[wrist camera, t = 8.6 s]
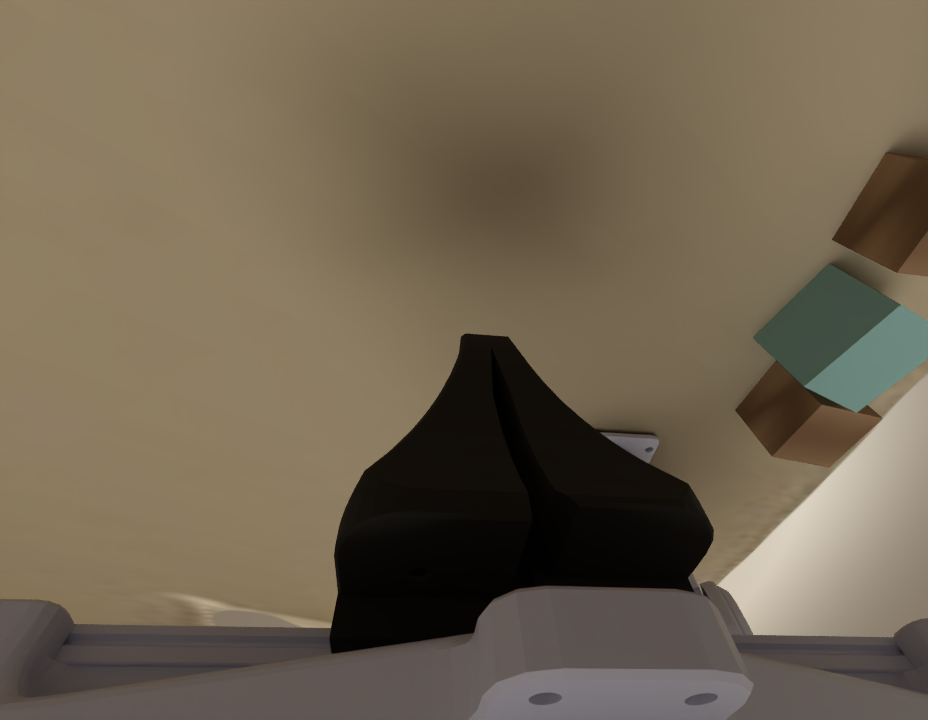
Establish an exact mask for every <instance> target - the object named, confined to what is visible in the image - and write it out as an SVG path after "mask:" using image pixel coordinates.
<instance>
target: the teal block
mask: <svg viewBox="0 0 928 720" xmlns="http://www.w3.org/2000/svg"><path fill="white" fill-rule="evenodd" d="M753 338H754V339H755V340H756V341H757V342H758V343H759V344H760V345H761V346H762V347H763V348H764V349H765V350H766V351H767V352H768V353H769V354H770V355H771V356H772V357H773V358H774V359H776V360H777V361H778V362H779V363H780V364H781V365H782V366H783V367H784V368H785V369H786V370H787V371H788V372H789V373H790V374H791V375H792V376H793V377H794V378H795V379H796V380H797V381H798V382H800V383H801V384H802V385H803V386H804V387H806V388H808V389H810V390H812V391H814V392H816V393H818V394H820V395H822V396H824V397H826V398H828V399H830V400H832V401H834V402H836V403H838V404H840V405H842V406H844V407H846V408H848V409H850V410H852V411H854V412H856V413H857V412H858V411H860V410H861V409H862V408H864V407H865V406H866V405H868V404H869V403H870V402H872V401H873V400H874V399H875V398H877V397H878V396H879V395H881V394H882V393H883V392H885V391H886V390H887V389H889V388H890V387H891V386H893V385H894V384H895V383H897V382H898V381H899V380H901V379H902V378H903V377H905V376H906V375H907V374H909V373H910V372H911V371H913V370H914V369H915V368H916V367H918V366H919V365H920V364H922V363H923V362H924V361H926V360H927V359H928V321H926V320H924V319H923V318H921V317H920V316H918V315H917V314H915V313H913V312H912V311H910V310H909V309H907V308H905V307H904V306H902V305H901V304H899V303H897V302H895V301H894V300H892V299H890V298H888V297H887V296H885V295H883V294H881V293H880V292H878V291H876V290H874V289H873V288H871V287H869V286H867V285H866V284H864V283H862V282H860V281H859V280H857V279H855V278H854V277H852V276H850V275H848V274H847V273H845V272H843V271H841V270H840V269H838V268H836V267H834V266H833V265H831V264H828V265H827V266H826V267H825V268H824V269H823V270H822V271H821V272H820V273H819V274H818V275H817V276H816V277H815V278H814V279H813V280H812V281H811V282H810V283H809V284H808V285H807V286H806V287H805V288H804V289H802V290H801V291H800V292H799V293H798V294H797V295H796V296H795V297H794V298H793V299H792V300H791V301H790V302H789V303H788V304H787V305H786V306H785V307H784V308H783V309H782V310H781V311H780V312H779V313H778V314H777V315H776V316H775V317H774V318H773V319H772V320H771V321H770V322H769V323H768V324H767V325H766V326H765V327H764V328H763V329H762V330H761V331H759V332H758V333H757V334H756V335H755V336H754V337H753Z"/></svg>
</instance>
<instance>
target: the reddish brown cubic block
mask: <svg viewBox="0 0 928 720" xmlns="http://www.w3.org/2000/svg"><path fill="white" fill-rule="evenodd" d="M736 412H737V413H738V414H739V415H740V417H741V418H742V419H743V421H744V422H745V423H746V424H747V426H748V427H749V428H750V429H751V431H752V432H753V433H754V434H755V436H756V437H757V438H758V440H759V441H760V442H761V443H762V445H763V446H764V447H765V448H766V450H767V451H768V452H769V453H770V455H771V456H772V457H777V458H782V459H787V460H793V461H798V462H803V463H808V464H814V465H819V466H824V467H830V466H831V465H832V464H834V463H835V462H836V461H837V460H838V459H839V458H840V457H841V456H842V455H843V454H844V453H846V452H847V451H848V450H849V449H850V448H851V447H852V446H853V445H854V444H855V443H857V442H858V441H859V440H860V439H861V438H862V437H863V436H864V435H865V434H866V433H867V432H869V431H870V430H871V429H872V428H873V427H874V426H875V425H876V424H877V423H878V422H879V421H881V420H882V419H883V418H882V417H881V416H880V415H878V414H877V413H876V412H875V411H874V410H873V409H871V408H870V407H869V406H868V405H866V406H865V407H864V408H862V409H861V410H860V411H858V412H857V413H856V412H854V411H852V410H850V409H848V408H846V407H844V406H842V405H840V404H838V403H836V402H834V401H832V400H830V399H828V398H826V397H824V396H822V395H820V394H818V393H816V392H814V391H812V390H810V389H808V388H806V387H804V386H803V385H802V384H801V383H800V382H798V381H797V380H796V379H795V378H794V377H793V376H792V375H791V374H790V373H789V372H788V371H787V370H786V369H785V368H784V367H783V366H782V365H781V364H780V363H779V362H778V361H776V362H775V363H774V364H773V365H772V367H771V368H770V369H769V370H768V371H767V373H766V374H765V375H764V376H763V377H762V379H761V380H760V381H759V382H758V384H757V385H756V386H755V387H754V388H753V390H752V391H751V392H750V393H749V394H748V396H747V397H746V398H745V399H744V400H743V402H742V403H741V404H740V405H739V406H738V408H737V409H736Z"/></svg>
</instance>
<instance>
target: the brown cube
mask: <svg viewBox="0 0 928 720" xmlns="http://www.w3.org/2000/svg"><path fill="white" fill-rule="evenodd" d="M832 240H833V241H835V242H837V243H839V244H841V245H843V246H845V247H847V248H849V249H851V250H853V251H855V252H857V253H859V254H861V255H863V256H865V257H867V258H869V259H871V260H873V261H875V262H877V263H879V264H881V265H883V266H885V267H887V268H889V269H891V270H893V271H895V272H897V273H903V274H912V275H920V276H928V159H925V158H918V157H911V156H904V155H898V154H891V153H885V155H884V157H883V158H882V160H881V161H880V163H879V165H878V166H877V168H876V169H875V171H874V173H873V174H872V176H871V178H870V179H869V181H868V182H867V184H866V186H865V187H864V189H863V190H862V192H861V194H860V195H859V197H858V198H857V200H856V202H855V203H854V205H853V207H852V208H851V210H850V211H849V213H848V215H847V216H846V218H845V219H844V221H843V223H842V224H841V226H840V228H839V229H838V231H837V232H836V234H835V236H834V237H833V239H832Z"/></svg>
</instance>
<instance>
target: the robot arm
mask: <svg viewBox="0 0 928 720" xmlns="http://www.w3.org/2000/svg"><path fill="white" fill-rule="evenodd" d="M658 445H659V440H658V438H657V437H656V436H654V435H640V434H623V433H605V432H598V431H597V430H596V429H594V428H593V427H592V426H590V425H589V424H588V423H587V422H585V421H584V420H583V419H582V418H580V417H579V416H578V415H577V414H576V413H575V412H574V411H572V410H571V409H570V408H569V407H568V406H567V405H566V404H565V403H564V402H562V401H561V400H560V399H559V398H558V397H557V396H556V395H555V393H554V392H553V391H552V390H551V389H550V388H549V387H548V386H547V385H546V384H545V383H544V382H543V381H542V379H541V378H540V377H539V376H538V375H537V374H536V372H535V371H534V370H533V369H532V367H531V366H530V365H529V364H528V362H527V361H526V360H525V358H524V357H523V356H522V354H521V353H520V352H519V350H518V349H517V348H516V346H515V345H514V344H513V342H512V341H511V340H510V339H509V337H505V336H491V335H478V334H464V335H463V336H461V342H460V350H459V355H458V358H457V360H456V363H455V365H454V367H453V370H452V372H451V374H450V376H449V378H448V380H447V382H446V383H445V385H444V387H443V389H442V391H441V392H440V394H439V395H438V397H437V399H436V400H435V402H434V403H433V404H432V406H431V407H430V409H429V410H428V411H427V412H426V414H425V415H424V416H423V417H422V419H421V420H420V421H419V422H418V423H417V425H416V426H415V427H414V428H413V429H412V430H411V431H410V432H409V433H408V434H407V435H406V436H405V437H404V438H403V439H402V440H401V441H400V442H399V443H398V444H397V445H396V446H395V447H394V448H393V449H392V450H390V451H389V452H388V453H387V454H386V455H384V456H383V457H382V458H381V459H379V460H378V461H377V462H375V463H374V464H373V465H372V466H370V467H369V468H368V469H366V470H365V471H364V473H363V475H362V476H361V478H360V480H359V482H358V484H357V485H356V487H355V489H354V491H353V493H352V495H351V497H350V499H349V501H348V504H347V506H346V508H345V511H344V514H343V516H342V519H341V522H340V526H339V530H338V535H337V540H336V545H335V553H334V559H335V568H336V577H337V587H338V596H337V601H336V606H335V611H334V616H333V621H332V626H331V628H285V627H222V626H221V627H220V626H162V625H100V624H74V622H73V620H72V618H71V616H70V614H69V613H68V611H67V610H66V609H64V608H63V607H62V606H60V605H59V604H56V603H53V602H50V601H44V600H30V599H0V720H928V618H926V619H920V620H917V621H913V622H911V623H909V624H907V625H905V626H904V627H902V628H901V629H900V630H899V631H897V632H896V633H895V634H894V637H836V636H834V637H833V636H831V637H830V636H776V635H774V636H773V635H753V633H752V631H751V629H750V627H749V625H748V623H747V622H746V620H745V618H744V616H743V614H742V612H741V611H740V609H739V607H738V606H737V604H736V602H735V600H734V599H733V597H732V596H731V595H730V593H729V592H727V591H726V590H724V589H722V588H721V587H719V586H716V585H715V583H714V582H712V581H707V582H704V583H701V584H700V586H701V589H702V592H703V595H704V596H703V595H702V593H701V591H700V589H699V586H698V584H697V582H696V580H695V578H694V576H693V574H692V572H693V571H694V569H695V568H696V567H697V565H698V564H699V563H700V561H701V560H702V559H703V557H704V556H705V555H706V553H707V551H708V549H709V547H710V545H711V543H712V541H713V533H714V530H713V527H712V525H711V523H710V521H709V519H708V517H707V515H706V514H705V512H704V510H703V508H702V506H701V504H700V502H699V500H698V499H697V497H696V496H695V494H694V492H693V491H692V489H691V488H690V486H689V484H687V483H686V482H684V481H682V480H680V479H678V478H676V477H674V476H672V475H670V474H668V473H666V472H664V471H662V470H660V469H658V468H656V467H654V466H652V465H650V464H649V463H650V461H651V459H652V457H653V455H654V453H655V451H656V449H657V447H658ZM648 447H649V448H648Z"/></svg>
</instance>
